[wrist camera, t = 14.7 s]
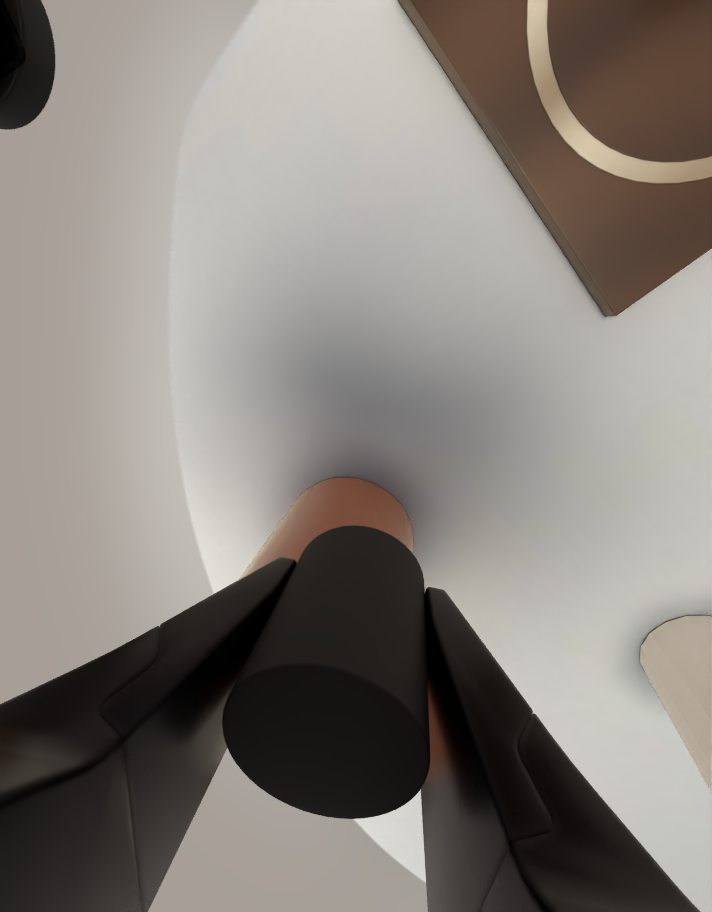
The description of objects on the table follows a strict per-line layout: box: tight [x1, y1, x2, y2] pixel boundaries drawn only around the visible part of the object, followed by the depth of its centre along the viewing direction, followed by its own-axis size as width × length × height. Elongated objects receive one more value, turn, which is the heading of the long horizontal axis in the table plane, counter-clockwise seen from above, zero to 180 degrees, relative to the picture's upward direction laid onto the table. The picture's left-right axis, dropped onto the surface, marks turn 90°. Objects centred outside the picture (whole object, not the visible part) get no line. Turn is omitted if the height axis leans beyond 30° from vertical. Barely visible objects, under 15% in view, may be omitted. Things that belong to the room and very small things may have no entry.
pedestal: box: [238, 477, 413, 580], centre depth 18 cm, size 8×8×11 cm
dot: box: [222, 525, 430, 819], centre depth 7 cm, size 3×3×4 cm
